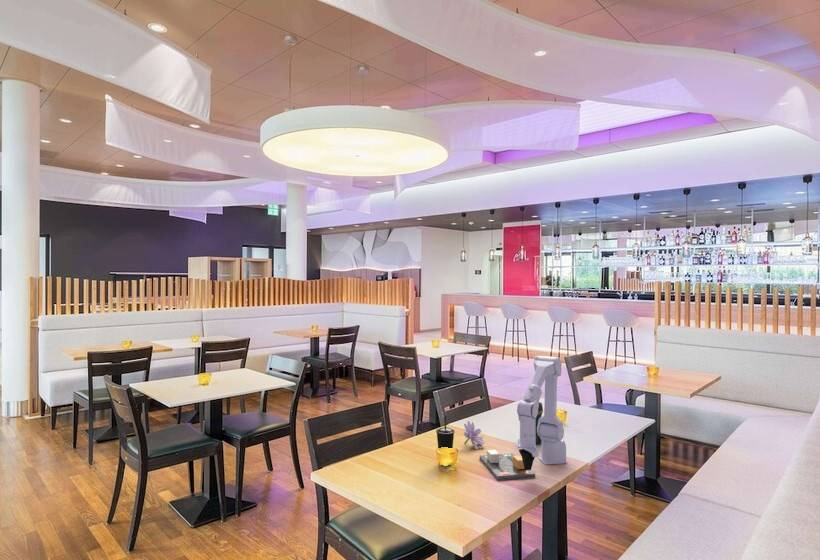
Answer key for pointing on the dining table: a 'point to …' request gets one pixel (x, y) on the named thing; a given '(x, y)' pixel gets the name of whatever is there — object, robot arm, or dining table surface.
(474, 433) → the water lily
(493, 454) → the switch
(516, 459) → the plain orange cube
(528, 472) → the breaker panel
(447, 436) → the drinking cup
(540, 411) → the coffee jar
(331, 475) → the dining table surface
